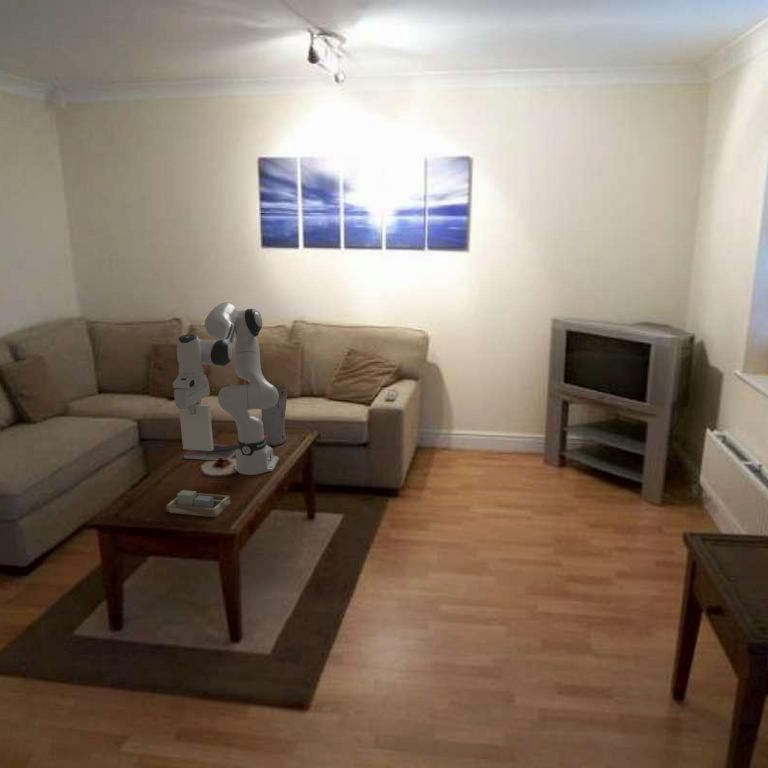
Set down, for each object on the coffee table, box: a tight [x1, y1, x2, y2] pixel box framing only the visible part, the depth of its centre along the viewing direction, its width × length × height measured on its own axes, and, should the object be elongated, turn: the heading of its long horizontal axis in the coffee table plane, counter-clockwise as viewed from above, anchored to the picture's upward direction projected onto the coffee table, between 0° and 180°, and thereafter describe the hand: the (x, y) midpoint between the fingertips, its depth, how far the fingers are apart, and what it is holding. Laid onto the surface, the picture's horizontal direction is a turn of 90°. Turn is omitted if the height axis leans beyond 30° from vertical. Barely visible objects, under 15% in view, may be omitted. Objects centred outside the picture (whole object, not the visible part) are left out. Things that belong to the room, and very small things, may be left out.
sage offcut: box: [176, 489, 197, 507], centre depth 258 cm, size 4×6×7 cm, turn 77°
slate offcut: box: [194, 495, 214, 508], centre depth 256 cm, size 4×6×6 cm, turn 77°
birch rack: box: [165, 492, 231, 518], centre depth 259 cm, size 13×20×3 cm, turn 77°
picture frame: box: [183, 443, 239, 461], centre depth 316 cm, size 16×2×22 cm
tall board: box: [178, 403, 214, 451], centre depth 255 cm, size 2×12×18 cm, turn 77°
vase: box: [260, 384, 288, 447], centre depth 327 cm, size 13×14×28 cm
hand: (194, 413), depth 253 cm, fingers closed on tall board, 2 cm apart
